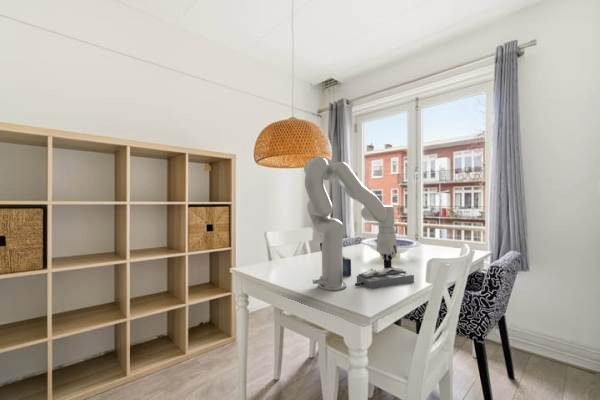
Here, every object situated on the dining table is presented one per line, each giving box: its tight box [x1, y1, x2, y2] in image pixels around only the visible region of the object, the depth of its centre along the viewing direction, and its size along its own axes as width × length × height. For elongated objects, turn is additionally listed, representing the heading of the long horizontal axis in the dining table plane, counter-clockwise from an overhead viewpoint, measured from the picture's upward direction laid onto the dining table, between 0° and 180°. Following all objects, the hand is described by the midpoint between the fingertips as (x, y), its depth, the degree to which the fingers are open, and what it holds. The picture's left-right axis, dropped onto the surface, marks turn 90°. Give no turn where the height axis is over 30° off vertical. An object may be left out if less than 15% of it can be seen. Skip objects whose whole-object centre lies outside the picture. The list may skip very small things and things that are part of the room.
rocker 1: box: [361, 268, 377, 276], centre depth 131 cm, size 6×4×1 cm, turn 113°
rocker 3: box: [390, 265, 404, 271], centre depth 137 cm, size 6×4×1 cm, turn 113°
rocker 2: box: [375, 266, 391, 274], centre depth 134 cm, size 6×4×1 cm, turn 113°
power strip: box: [354, 269, 415, 290], centre depth 131 cm, size 30×10×4 cm, turn 113°
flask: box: [343, 256, 352, 277], centre depth 146 cm, size 9×3×11 cm, turn 72°
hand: (387, 267), depth 135 cm, fingers closed
